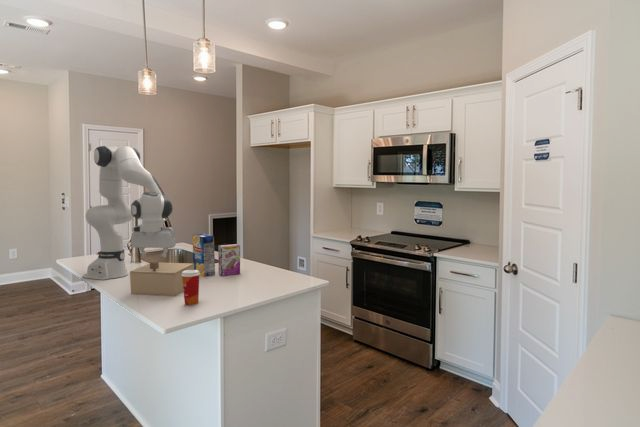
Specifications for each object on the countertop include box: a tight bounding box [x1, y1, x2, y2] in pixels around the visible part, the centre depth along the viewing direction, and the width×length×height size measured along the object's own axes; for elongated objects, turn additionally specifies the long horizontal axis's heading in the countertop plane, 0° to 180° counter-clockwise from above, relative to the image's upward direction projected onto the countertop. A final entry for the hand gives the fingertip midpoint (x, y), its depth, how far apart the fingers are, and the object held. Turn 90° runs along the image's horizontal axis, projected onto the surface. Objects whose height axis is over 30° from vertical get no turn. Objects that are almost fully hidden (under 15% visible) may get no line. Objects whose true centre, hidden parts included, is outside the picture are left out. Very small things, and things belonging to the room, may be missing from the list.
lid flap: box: [129, 261, 194, 274], centre depth 201 cm, size 22×20×5 cm
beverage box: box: [191, 233, 216, 278], centre depth 231 cm, size 7×11×22 cm, turn 47°
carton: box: [129, 265, 194, 297], centre depth 202 cm, size 22×20×10 cm
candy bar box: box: [217, 243, 241, 277], centre depth 231 cm, size 11×5×16 cm, turn 124°
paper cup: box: [181, 270, 200, 306], centre depth 180 cm, size 8×8×14 cm
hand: (154, 257), depth 193 cm, fingers open, 8 cm apart
